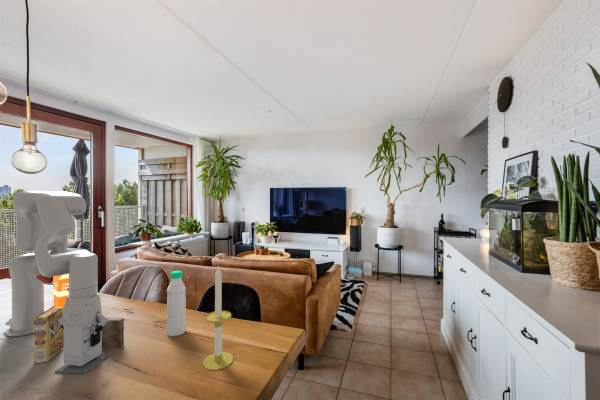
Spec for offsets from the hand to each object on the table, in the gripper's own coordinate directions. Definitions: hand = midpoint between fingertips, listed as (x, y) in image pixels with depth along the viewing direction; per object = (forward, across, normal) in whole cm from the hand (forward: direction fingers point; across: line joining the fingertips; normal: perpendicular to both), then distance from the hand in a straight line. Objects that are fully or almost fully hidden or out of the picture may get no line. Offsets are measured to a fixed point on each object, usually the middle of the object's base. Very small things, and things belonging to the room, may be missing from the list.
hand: (83, 343), depth 90 cm
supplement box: (+5, 0, 0) cm, 5 cm away
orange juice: (+7, -52, +47) cm, 70 cm away
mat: (+7, 0, 0) cm, 7 cm away
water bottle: (+7, +20, +22) cm, 31 cm away
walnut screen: (+7, -3, +11) cm, 13 cm away
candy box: (+7, -16, +4) cm, 18 cm away
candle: (+7, +44, +4) cm, 45 cm away
